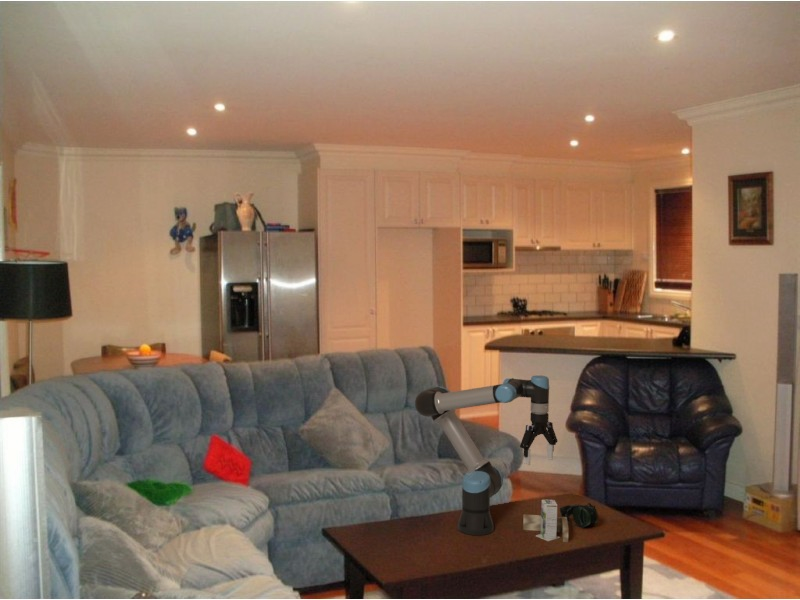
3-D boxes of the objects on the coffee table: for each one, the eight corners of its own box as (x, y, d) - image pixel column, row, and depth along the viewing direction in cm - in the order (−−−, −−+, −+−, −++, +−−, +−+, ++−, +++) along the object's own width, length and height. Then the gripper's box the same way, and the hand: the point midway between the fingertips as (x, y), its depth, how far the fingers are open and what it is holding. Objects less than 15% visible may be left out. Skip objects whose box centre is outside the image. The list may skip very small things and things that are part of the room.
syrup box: (540, 533, 311) (540, 499, 311) (554, 533, 311) (554, 499, 311) (542, 538, 306) (543, 503, 305) (557, 538, 306) (557, 503, 305)
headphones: (612, 512, 322) (580, 506, 339) (593, 494, 318) (562, 488, 335) (597, 539, 317) (566, 531, 334) (578, 520, 313) (547, 513, 330)
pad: (548, 541, 303) (548, 540, 303) (535, 536, 309) (535, 535, 309) (559, 537, 307) (559, 537, 307) (547, 532, 313) (547, 531, 313)
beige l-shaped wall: (523, 539, 305) (523, 524, 305) (523, 528, 318) (523, 514, 318) (568, 542, 302) (568, 527, 302) (566, 530, 315) (566, 517, 315)
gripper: (524, 417, 305) (524, 468, 306) (566, 410, 320) (565, 459, 321) (512, 414, 311) (511, 464, 312) (553, 407, 326) (552, 455, 327)
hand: (538, 461), depth 317 cm, fingers open, 13 cm apart
